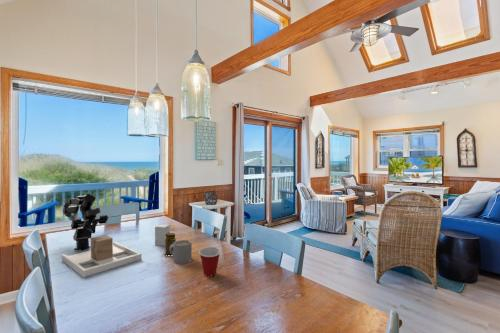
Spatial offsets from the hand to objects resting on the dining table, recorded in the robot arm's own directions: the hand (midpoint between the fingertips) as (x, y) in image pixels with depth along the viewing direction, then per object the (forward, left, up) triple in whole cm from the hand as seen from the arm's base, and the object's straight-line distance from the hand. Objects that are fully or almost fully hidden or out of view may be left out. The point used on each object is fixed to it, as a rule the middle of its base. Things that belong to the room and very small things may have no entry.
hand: (94, 233), depth 149 cm
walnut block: (+10, -4, -12) cm, 16 cm away
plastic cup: (+76, -7, -14) cm, 78 cm away
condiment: (+42, +13, -14) cm, 46 cm away
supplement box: (+27, +28, -14) cm, 42 cm away
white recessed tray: (+10, -4, -13) cm, 17 cm away
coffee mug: (+52, +7, -14) cm, 55 cm away
